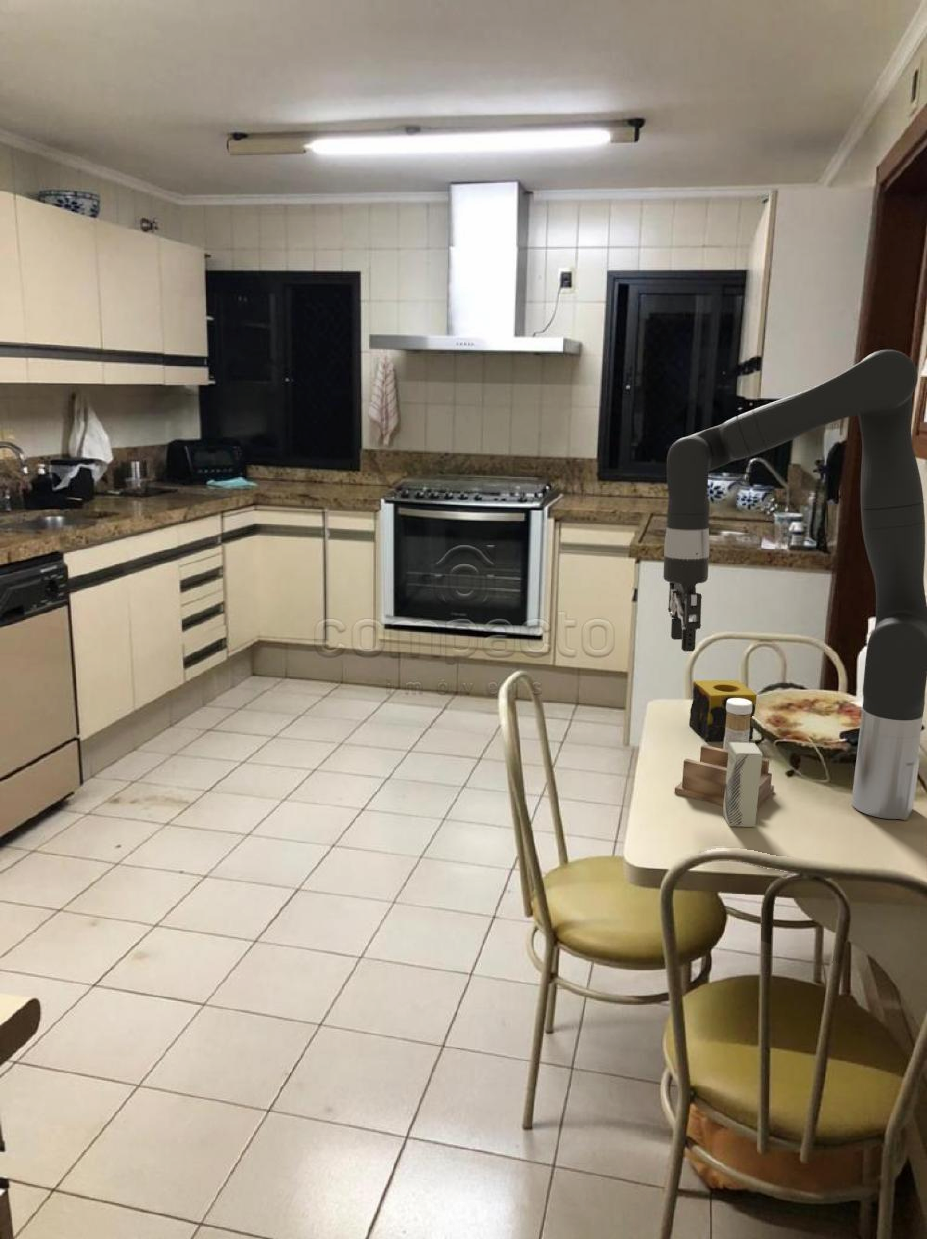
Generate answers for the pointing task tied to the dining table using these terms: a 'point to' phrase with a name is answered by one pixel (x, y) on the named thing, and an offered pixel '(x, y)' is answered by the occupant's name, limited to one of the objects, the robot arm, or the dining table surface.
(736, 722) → the sprinkles bottle
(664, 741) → the dining table surface
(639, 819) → the dining table surface
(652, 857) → the dining table surface
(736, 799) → the box
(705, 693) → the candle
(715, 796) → the rack
